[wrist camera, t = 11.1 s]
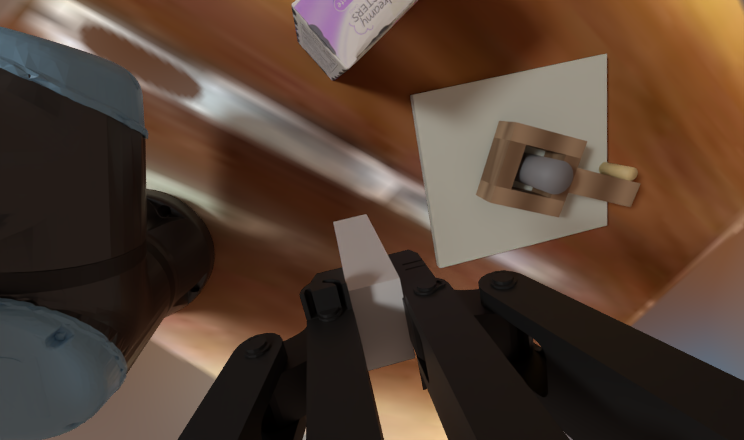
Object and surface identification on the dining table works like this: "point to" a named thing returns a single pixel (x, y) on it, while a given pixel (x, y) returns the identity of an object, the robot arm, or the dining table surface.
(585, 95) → the post board
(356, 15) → the candy box
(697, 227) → the dining table surface
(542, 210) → the wooden frame with handle
